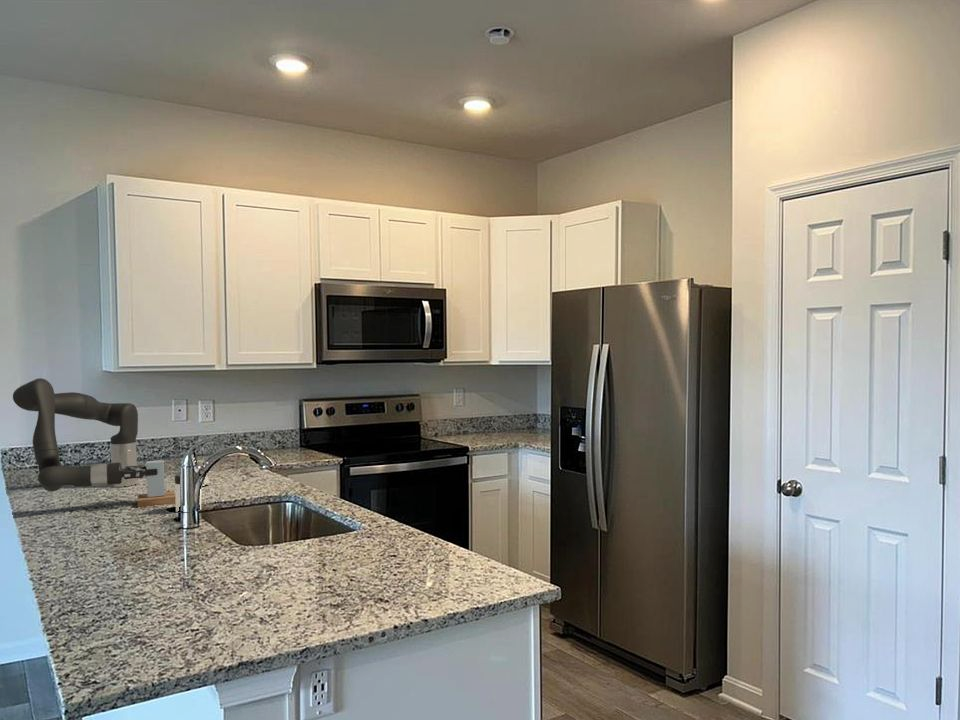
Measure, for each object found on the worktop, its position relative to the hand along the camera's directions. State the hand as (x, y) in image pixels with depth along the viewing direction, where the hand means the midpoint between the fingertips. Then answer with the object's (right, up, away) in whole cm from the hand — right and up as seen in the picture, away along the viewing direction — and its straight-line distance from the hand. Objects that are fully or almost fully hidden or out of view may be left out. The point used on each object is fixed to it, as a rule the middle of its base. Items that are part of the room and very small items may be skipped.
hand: (157, 470), depth 255 cm
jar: (+17, -12, -13) cm, 24 cm away
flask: (+4, -11, +30) cm, 32 cm away
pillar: (-1, -9, 0) cm, 9 cm away
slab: (0, -12, 0) cm, 12 cm away
